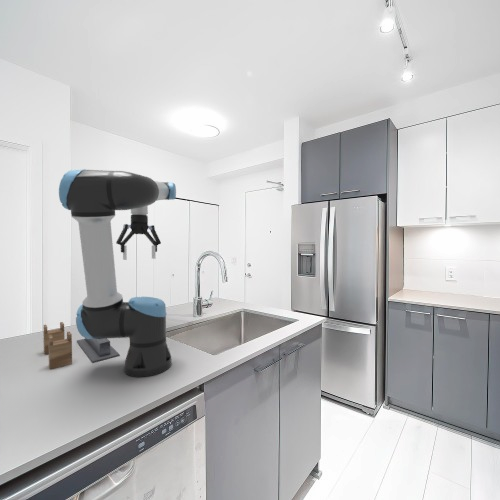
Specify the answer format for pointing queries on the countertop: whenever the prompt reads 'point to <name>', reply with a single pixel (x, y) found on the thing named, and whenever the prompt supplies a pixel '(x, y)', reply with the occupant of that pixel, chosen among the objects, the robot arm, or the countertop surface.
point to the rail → (100, 346)
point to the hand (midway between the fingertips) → (139, 259)
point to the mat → (92, 354)
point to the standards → (58, 347)
